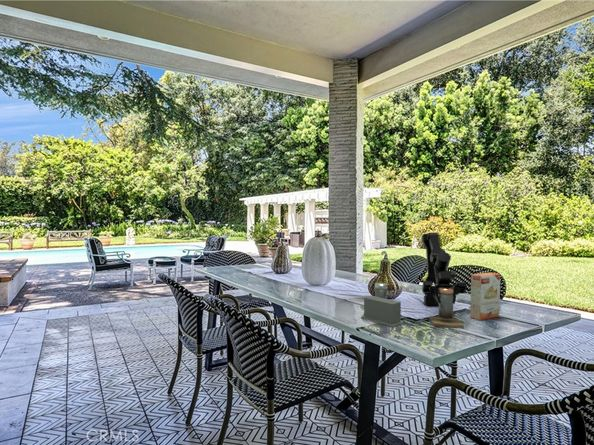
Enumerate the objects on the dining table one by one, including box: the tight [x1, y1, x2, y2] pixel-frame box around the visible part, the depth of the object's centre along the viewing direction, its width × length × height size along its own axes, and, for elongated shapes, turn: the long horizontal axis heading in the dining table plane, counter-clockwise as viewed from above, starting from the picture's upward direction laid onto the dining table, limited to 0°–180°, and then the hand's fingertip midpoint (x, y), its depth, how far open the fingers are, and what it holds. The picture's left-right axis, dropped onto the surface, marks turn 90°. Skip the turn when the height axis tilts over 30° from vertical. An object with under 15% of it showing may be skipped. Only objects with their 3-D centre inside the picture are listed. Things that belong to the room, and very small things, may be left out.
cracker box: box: [469, 272, 501, 321], centre depth 177 cm, size 14×6×21 cm, turn 117°
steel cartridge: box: [374, 282, 388, 299], centre depth 193 cm, size 6×6×13 cm
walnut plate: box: [428, 316, 465, 329], centre depth 168 cm, size 12×12×1 cm
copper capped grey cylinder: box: [438, 287, 454, 319], centre depth 168 cm, size 6×6×13 cm
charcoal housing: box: [360, 295, 405, 328], centre depth 172 cm, size 8×18×10 cm, turn 41°
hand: (446, 303), depth 166 cm, fingers closed on copper capped grey cylinder, 6 cm apart
